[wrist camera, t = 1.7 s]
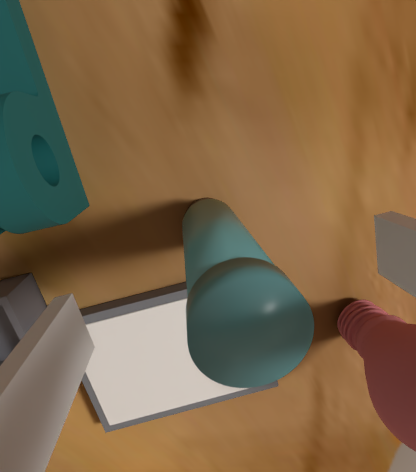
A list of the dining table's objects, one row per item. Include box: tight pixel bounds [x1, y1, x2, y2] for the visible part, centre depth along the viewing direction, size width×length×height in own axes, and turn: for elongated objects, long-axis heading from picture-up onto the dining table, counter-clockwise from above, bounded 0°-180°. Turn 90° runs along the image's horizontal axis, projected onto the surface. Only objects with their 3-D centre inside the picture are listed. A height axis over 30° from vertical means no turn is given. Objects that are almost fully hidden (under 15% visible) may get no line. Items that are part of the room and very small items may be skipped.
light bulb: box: [337, 300, 416, 451], centre depth 21 cm, size 7×7×12 cm
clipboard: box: [80, 282, 278, 432], centre depth 25 cm, size 11×15×2 cm
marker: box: [182, 198, 314, 388], centre depth 16 cm, size 4×4×14 cm
